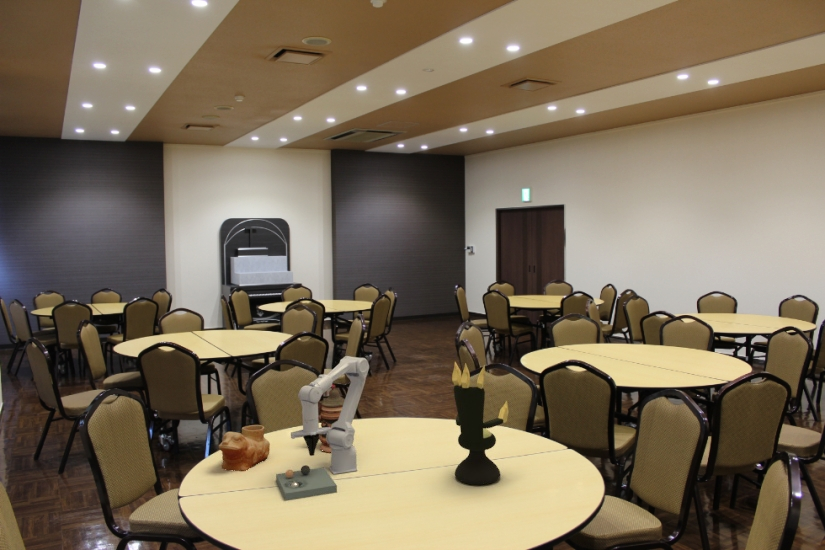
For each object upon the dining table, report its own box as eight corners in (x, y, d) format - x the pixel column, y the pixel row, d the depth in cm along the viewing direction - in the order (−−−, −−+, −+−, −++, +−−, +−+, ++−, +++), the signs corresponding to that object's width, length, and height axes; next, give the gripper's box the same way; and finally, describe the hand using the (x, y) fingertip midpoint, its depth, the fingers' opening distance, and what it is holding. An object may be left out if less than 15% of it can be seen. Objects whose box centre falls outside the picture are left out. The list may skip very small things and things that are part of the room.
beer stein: (359, 451, 281) (328, 440, 292) (367, 387, 281) (336, 378, 291) (333, 458, 268) (302, 446, 278) (341, 390, 267) (310, 381, 278)
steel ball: (294, 491, 234) (296, 482, 235) (300, 492, 232) (302, 483, 233) (287, 490, 232) (289, 480, 233) (293, 491, 229) (295, 481, 230)
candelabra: (510, 473, 245) (508, 354, 242) (492, 494, 225) (490, 365, 222) (463, 466, 253) (461, 351, 250) (441, 487, 233) (438, 362, 230)
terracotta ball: (293, 475, 240) (292, 467, 240) (294, 478, 237) (294, 470, 237) (284, 477, 239) (284, 469, 239) (286, 480, 236) (286, 471, 236)
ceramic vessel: (209, 472, 253) (207, 434, 252) (250, 451, 277) (248, 416, 276) (238, 476, 248) (237, 438, 247) (277, 454, 272) (276, 419, 271)
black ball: (309, 472, 243) (308, 463, 243) (311, 475, 240) (310, 466, 240) (300, 473, 242) (299, 464, 242) (301, 476, 239) (301, 467, 239)
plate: (323, 473, 249) (323, 467, 249) (336, 492, 230) (336, 485, 230) (276, 480, 242) (276, 474, 242) (285, 500, 224) (285, 493, 224)
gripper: (293, 423, 233) (294, 461, 234) (332, 418, 238) (333, 455, 239) (289, 418, 239) (290, 455, 240) (327, 413, 245) (328, 449, 246)
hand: (311, 454), depth 240 cm, fingers closed
